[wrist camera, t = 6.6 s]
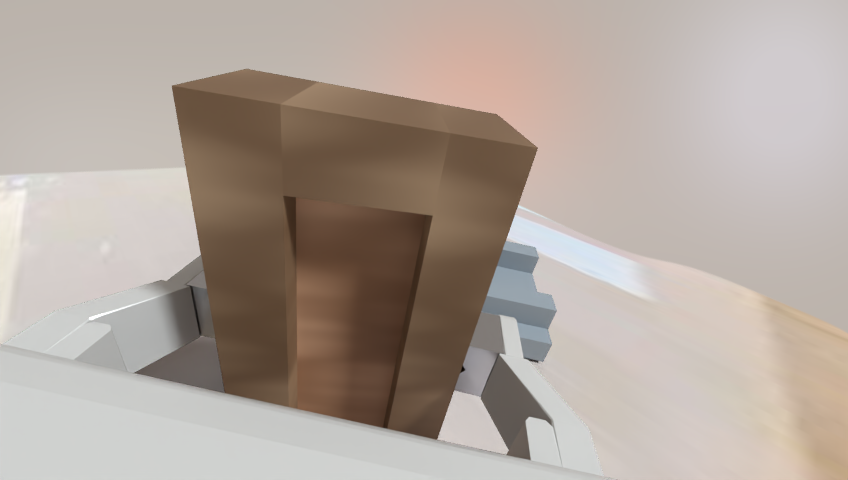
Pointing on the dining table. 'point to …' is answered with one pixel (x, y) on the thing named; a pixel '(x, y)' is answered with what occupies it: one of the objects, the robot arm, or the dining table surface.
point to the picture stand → (522, 299)
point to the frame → (346, 240)
